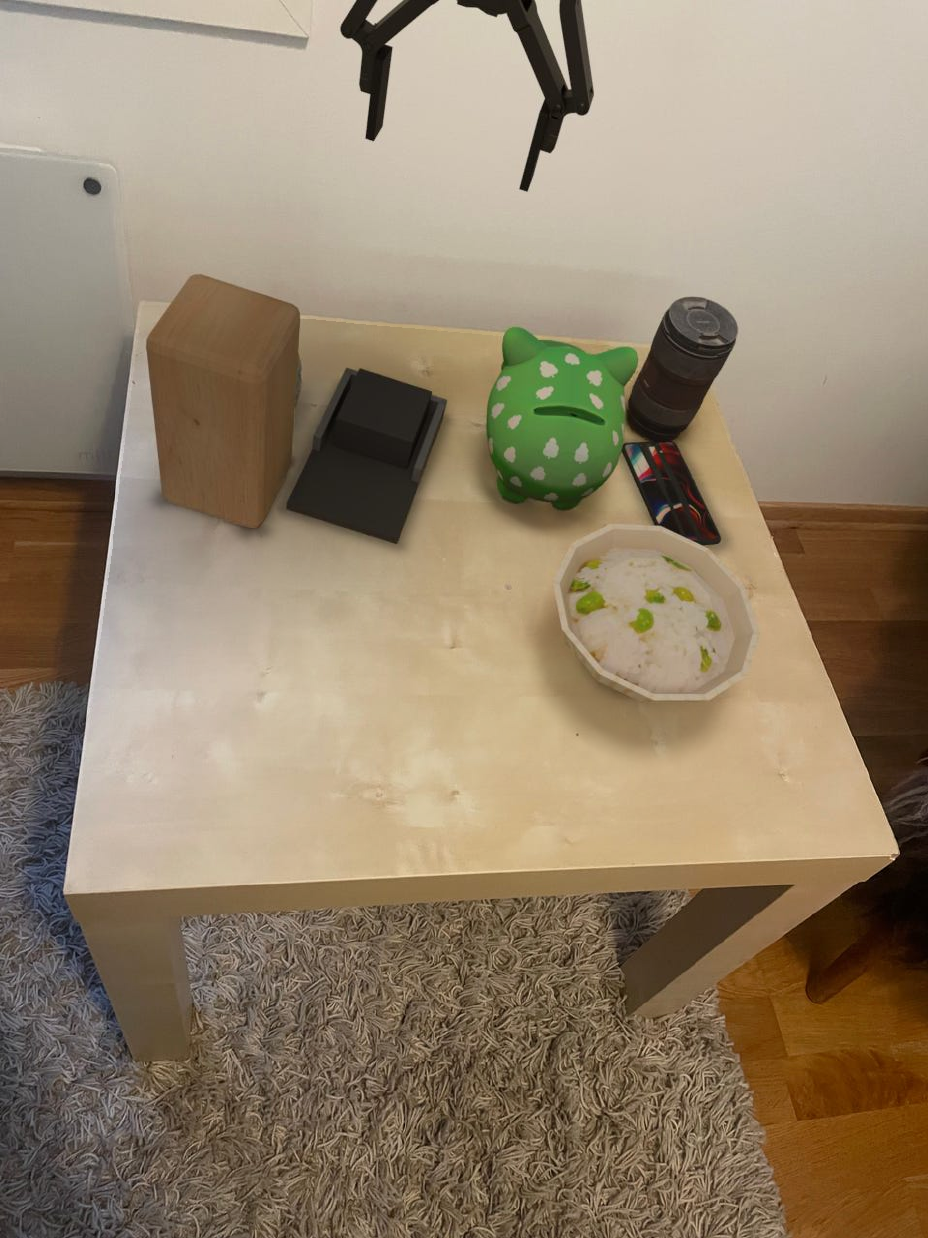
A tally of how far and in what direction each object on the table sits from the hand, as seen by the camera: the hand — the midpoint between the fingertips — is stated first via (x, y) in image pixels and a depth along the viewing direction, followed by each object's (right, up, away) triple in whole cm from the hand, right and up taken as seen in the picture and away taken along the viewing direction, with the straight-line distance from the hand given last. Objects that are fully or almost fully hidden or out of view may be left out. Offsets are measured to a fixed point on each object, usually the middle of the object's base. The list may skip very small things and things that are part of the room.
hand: (450, 157), depth 79 cm
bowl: (+17, -43, +11) cm, 47 cm away
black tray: (-9, -23, +18) cm, 30 cm away
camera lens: (+23, -16, +30) cm, 41 cm away
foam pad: (-8, -20, +19) cm, 28 cm away
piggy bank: (+9, -23, +22) cm, 33 cm away
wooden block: (-22, -26, +13) cm, 36 cm away
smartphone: (+24, -26, +25) cm, 43 cm away
